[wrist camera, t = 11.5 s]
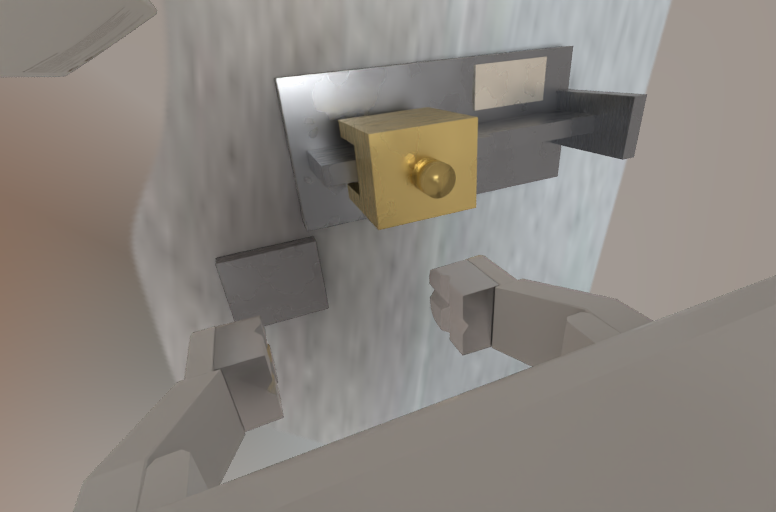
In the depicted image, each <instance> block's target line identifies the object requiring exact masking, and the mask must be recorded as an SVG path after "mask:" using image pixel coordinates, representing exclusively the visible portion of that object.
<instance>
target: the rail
mask: <svg viewBox="0 0 776 512" xmlns="http://www.w3.org/2000/svg"><path fill="white" fill-rule="evenodd" d="M572 52H573V46H564V47H554V48H545V49H536V50H526V51H517V52H508V53H499V54H490V55H480V56H471V57H462V58H453V59H444V60H434V61H425V62H416V63H407V64H398V65H388V66H379V67H370V68H361V69H352V70H342V71H333V72H324V73H315V74H306V75H296V76H287V77H278V78H274V79H275V84H276V89H277V94H278V99H279V104H280V109H281V114H282V119H283V124H284V129H285V133H286V138H287V143H288V148H289V153H290V158H291V163H292V168H293V173H294V178H295V182H296V187H297V192H298V197H299V202H300V207H301V212H302V217H303V222H304V226H305V228H306V230H307V231H311V230H316V229H320V228H325V227H330V226H334V225H339V224H343V223H348V222H352V221H357V220H361V219H366V218H367V217H366V216H365V215H364V214H363V213H362V212H361V210H360V209H359V208H358V207H357V206H356V205H355V204H354V203H353V202H352V201H351V200H350V199H349V194H348V187H347V184H348V183H353V182H358V174H357V166H356V158H355V150H354V145H353V144H351V143H350V142H348V141H347V140H345V139H343V138H342V137H340V129H339V122H338V120H341V119H348V118H355V117H362V116H369V115H376V114H383V113H390V112H397V111H404V110H411V109H417V108H424V107H430V108H435V109H440V110H445V111H450V112H455V113H460V114H465V115H470V116H475V117H478V138H477V186H476V194H479V193H484V192H488V191H493V190H497V189H502V188H507V187H511V186H516V185H520V184H525V183H529V182H534V181H538V180H543V179H547V178H552V177H556V176H558V168H559V160H560V151H561V145H563V146H567V147H571V148H575V149H580V150H584V151H588V152H592V153H597V154H601V155H605V156H610V157H614V158H618V159H622V160H623V159H627V158H632V157H634V154H635V149H636V144H637V140H638V135H639V130H640V125H641V120H642V116H643V111H644V106H645V101H646V97H647V94H633V93H618V92H602V91H587V90H572V89H568V85H569V76H570V68H571V60H572Z"/></svg>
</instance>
